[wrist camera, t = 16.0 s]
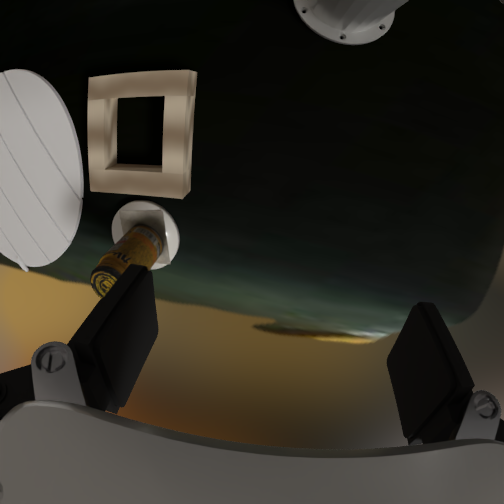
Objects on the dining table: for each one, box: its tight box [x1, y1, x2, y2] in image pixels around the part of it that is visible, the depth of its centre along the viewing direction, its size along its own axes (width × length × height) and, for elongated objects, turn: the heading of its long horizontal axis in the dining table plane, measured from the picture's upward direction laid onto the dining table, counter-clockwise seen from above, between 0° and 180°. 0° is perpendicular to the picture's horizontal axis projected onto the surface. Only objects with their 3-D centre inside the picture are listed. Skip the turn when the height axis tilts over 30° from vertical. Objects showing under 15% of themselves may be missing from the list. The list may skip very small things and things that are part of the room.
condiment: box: [90, 211, 170, 298], centre depth 38 cm, size 7×8×12 cm
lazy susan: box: [0, 69, 83, 272], centre depth 40 cm, size 40×39×3 cm
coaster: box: [112, 200, 180, 269], centre depth 44 cm, size 11×11×1 cm
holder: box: [88, 70, 197, 199], centre depth 35 cm, size 16×14×4 cm
